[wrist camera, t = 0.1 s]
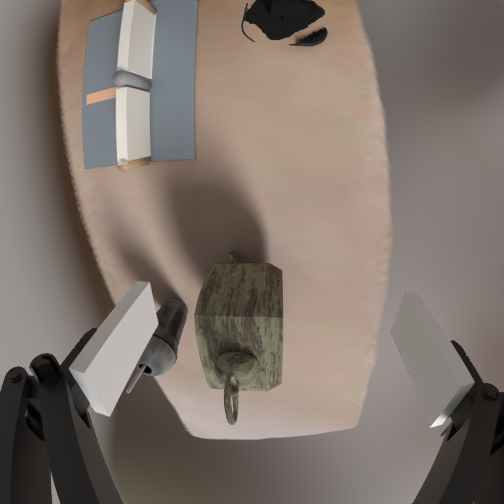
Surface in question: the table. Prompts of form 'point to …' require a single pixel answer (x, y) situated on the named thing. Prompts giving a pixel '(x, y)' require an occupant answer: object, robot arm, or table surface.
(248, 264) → the tabletop clock
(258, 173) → the table surface
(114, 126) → the card
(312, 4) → the black jagged rounded shell
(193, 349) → the table surface
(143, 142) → the cream upright panel
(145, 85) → the fixed fence section
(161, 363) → the beverage cup
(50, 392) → the robot arm
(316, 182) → the table surface
